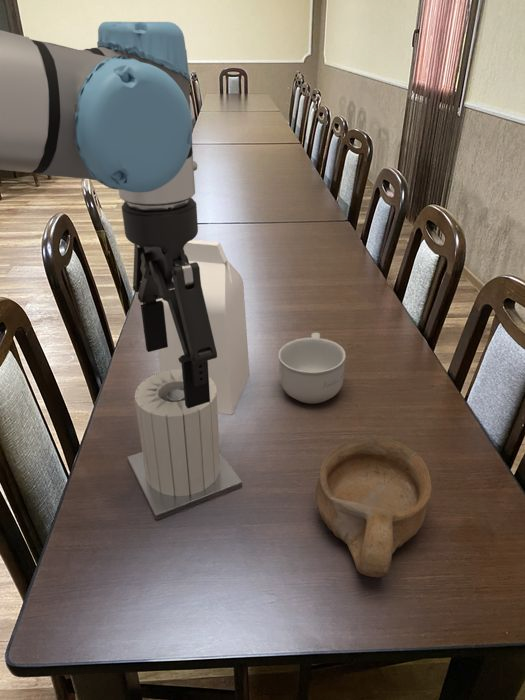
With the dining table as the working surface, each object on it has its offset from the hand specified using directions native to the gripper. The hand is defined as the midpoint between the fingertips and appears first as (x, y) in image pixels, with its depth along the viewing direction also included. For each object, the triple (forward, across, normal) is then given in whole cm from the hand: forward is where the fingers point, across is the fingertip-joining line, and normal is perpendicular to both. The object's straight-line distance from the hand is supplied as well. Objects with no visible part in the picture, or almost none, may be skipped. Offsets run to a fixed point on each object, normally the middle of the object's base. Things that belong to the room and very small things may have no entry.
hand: (175, 374), depth 65 cm
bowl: (+17, -20, -16) cm, 31 cm away
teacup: (+17, +9, -27) cm, 33 cm away
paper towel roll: (+16, 0, 0) cm, 16 cm away
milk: (+17, +17, -11) cm, 26 cm away
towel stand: (+16, 0, 0) cm, 17 cm away
